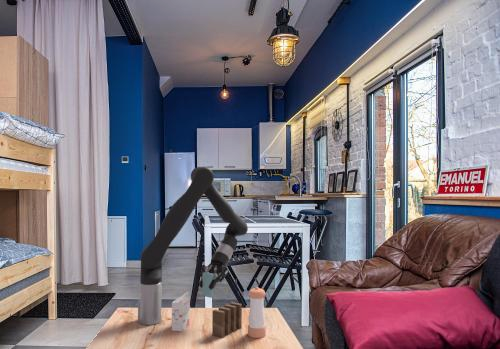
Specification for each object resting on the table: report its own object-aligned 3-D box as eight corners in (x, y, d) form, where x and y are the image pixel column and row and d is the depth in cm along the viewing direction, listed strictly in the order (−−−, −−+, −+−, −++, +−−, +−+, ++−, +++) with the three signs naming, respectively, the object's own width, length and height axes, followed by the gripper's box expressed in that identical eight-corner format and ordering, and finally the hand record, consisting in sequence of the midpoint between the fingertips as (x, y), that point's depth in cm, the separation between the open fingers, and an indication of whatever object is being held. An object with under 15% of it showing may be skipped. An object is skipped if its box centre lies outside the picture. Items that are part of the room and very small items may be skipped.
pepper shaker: (251, 339, 150) (252, 290, 151) (245, 332, 157) (245, 285, 158) (268, 336, 153) (268, 288, 154) (261, 330, 160) (261, 284, 161)
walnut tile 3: (226, 328, 162) (226, 304, 162) (236, 330, 159) (236, 306, 160) (224, 329, 161) (224, 305, 161) (233, 331, 158) (233, 307, 158)
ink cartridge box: (178, 323, 167) (179, 289, 168) (189, 324, 166) (190, 290, 167) (171, 330, 159) (171, 295, 159) (182, 331, 158) (182, 295, 158)
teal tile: (204, 295, 169) (204, 272, 170) (213, 296, 166) (213, 273, 167) (202, 295, 168) (202, 272, 168) (211, 297, 165) (211, 274, 165)
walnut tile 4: (220, 331, 159) (220, 306, 159) (230, 333, 156) (230, 308, 156) (218, 332, 157) (218, 307, 158) (228, 334, 155) (228, 309, 155)
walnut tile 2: (232, 325, 165) (232, 302, 166) (241, 327, 163) (241, 304, 163) (229, 326, 164) (230, 303, 164) (239, 328, 161) (239, 305, 162)
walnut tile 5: (214, 334, 155) (215, 309, 156) (224, 336, 153) (224, 311, 153) (212, 335, 154) (212, 310, 154) (222, 338, 151) (222, 312, 152)
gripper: (206, 249, 178) (188, 280, 167) (231, 252, 170) (214, 285, 160) (213, 259, 182) (196, 290, 172) (238, 262, 174) (221, 295, 164)
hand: (205, 287), depth 166 cm, fingers closed on teal tile, 5 cm apart
